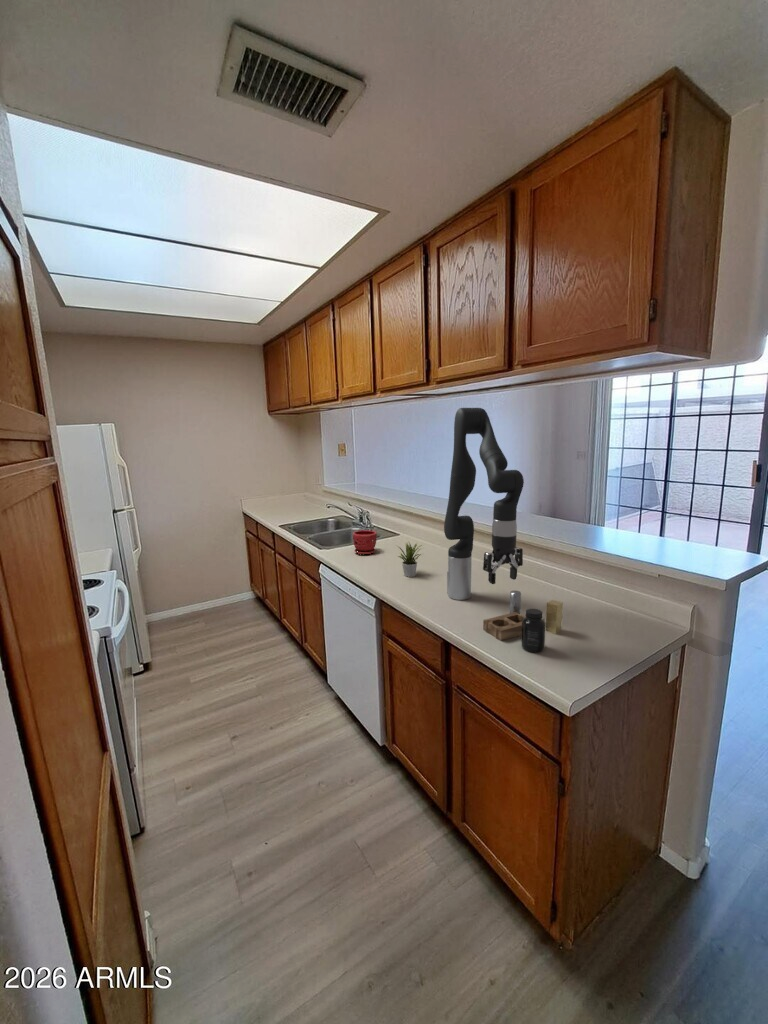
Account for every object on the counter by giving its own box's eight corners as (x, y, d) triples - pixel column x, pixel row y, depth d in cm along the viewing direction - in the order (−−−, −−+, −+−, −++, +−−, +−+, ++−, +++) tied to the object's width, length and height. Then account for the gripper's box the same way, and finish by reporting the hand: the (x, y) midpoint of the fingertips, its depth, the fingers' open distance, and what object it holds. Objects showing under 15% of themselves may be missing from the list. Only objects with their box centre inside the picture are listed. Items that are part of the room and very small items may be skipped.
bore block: (482, 629, 145) (482, 620, 144) (515, 621, 151) (515, 611, 150) (500, 641, 137) (500, 631, 136) (534, 631, 143) (534, 621, 142)
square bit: (545, 630, 143) (546, 602, 141) (551, 627, 145) (552, 599, 143) (555, 634, 140) (557, 605, 138) (561, 631, 143) (562, 602, 141)
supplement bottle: (549, 648, 131) (551, 612, 129) (535, 655, 128) (537, 618, 125) (530, 640, 137) (531, 605, 135) (516, 646, 133) (517, 610, 131)
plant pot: (377, 556, 233) (376, 534, 231) (353, 556, 233) (352, 535, 230) (377, 549, 246) (376, 529, 243) (354, 550, 246) (353, 529, 243)
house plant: (433, 576, 199) (433, 542, 196) (411, 583, 190) (410, 547, 187) (413, 568, 210) (413, 536, 207) (391, 575, 202) (390, 541, 199)
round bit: (507, 618, 153) (508, 591, 151) (515, 615, 155) (516, 589, 153) (514, 621, 150) (515, 595, 148) (522, 619, 152) (523, 593, 150)
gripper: (513, 527, 142) (511, 574, 145) (478, 533, 136) (477, 581, 139) (529, 532, 135) (527, 581, 139) (494, 538, 130) (492, 588, 133)
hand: (502, 581), depth 139 cm, fingers open, 8 cm apart
